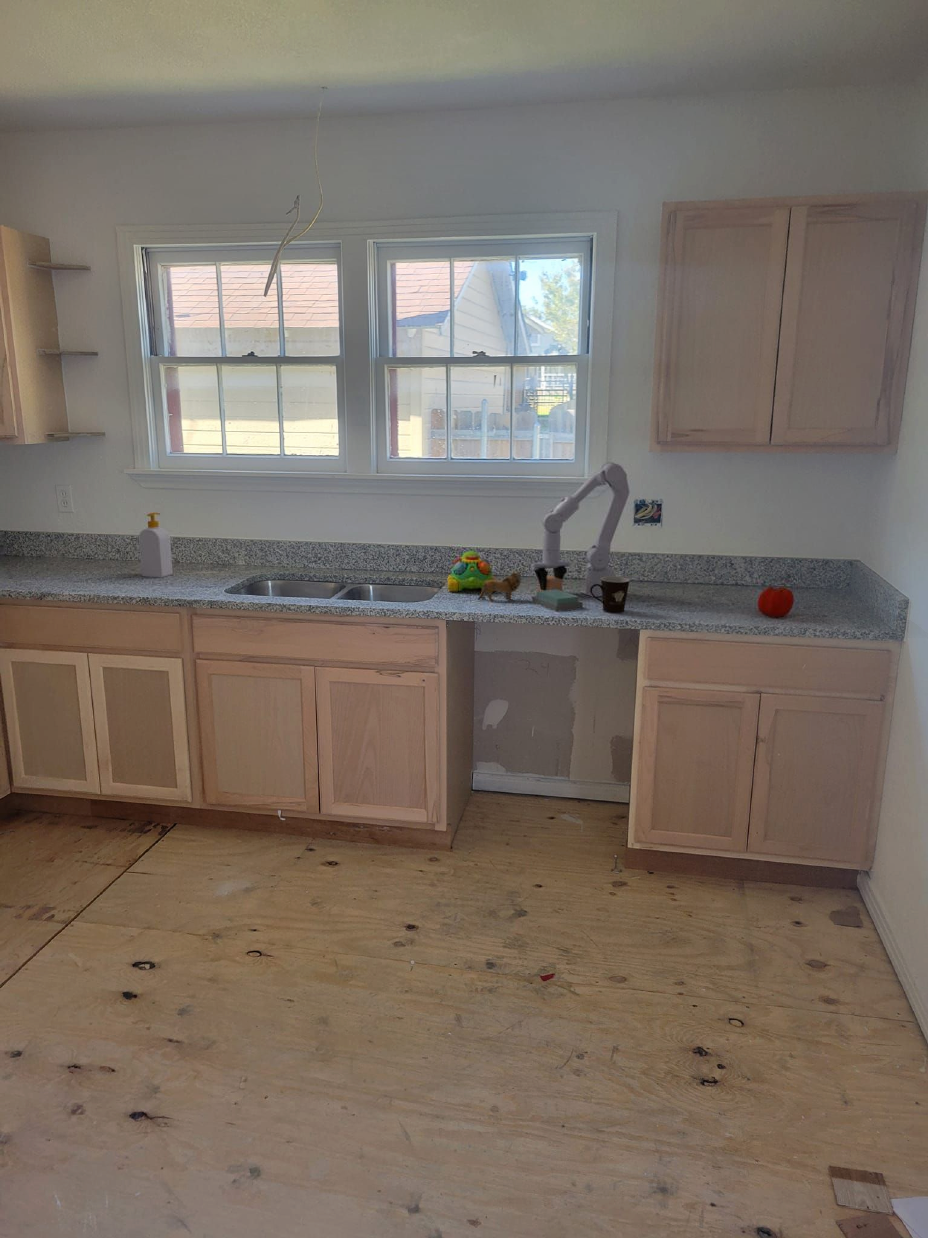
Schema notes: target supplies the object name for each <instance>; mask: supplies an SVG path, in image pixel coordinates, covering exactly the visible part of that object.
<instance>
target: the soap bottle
mask: <svg viewBox="0 0 928 1238" xmlns="http://www.w3.org/2000/svg"><path fill="white" fill-rule="evenodd" d="M155 515H158V516H160V515H161V513H159V512H150V513H148V514H146V516H147V517H150V520H149V521H147V528H146V529H142V530H141V531H140V532H139V534H138V546H139V547H138V548H139V559H140V572H141V576H142V577H149V578H159V579H160V578H161V579H162V578H165V577H168V576H172V575H173V574H174V573H173V560H172V549H171V547H172V546H171V537H170V534H169V532H168V531H167V530H166V529H165V528H163V527H160V526H159V521H158V520H155Z"/></svg>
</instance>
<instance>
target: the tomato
mask: <svg viewBox="0 0 928 1238" xmlns="http://www.w3.org/2000/svg"><path fill="white" fill-rule="evenodd" d="M794 600H795V599H794V594H793V591H792V590H790V589H788V588H786V587H784V586H780V587H777V588H774V587H773V586H768V587H766V589H764V590H763V591H762V592H761V593H760V595H759V596H758V600H757V609H758V611H759V612H760V613H761V614H763V615H764V616H769V617H771V616H773V617H772V618H774V617H776V618H780V617H781V616H783V617H784V616H787V615H788V614H789V613H790V612H791V610H792V608H793V606H794V602H795V601H794ZM781 618H782V617H781Z"/></svg>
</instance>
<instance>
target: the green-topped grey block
mask: <svg viewBox="0 0 928 1238" xmlns="http://www.w3.org/2000/svg"><path fill="white" fill-rule="evenodd" d="M531 599H532V600H531V601H532V602H531V603H534V604H536V605H539V606H540V607H544V606H545V607H544V608H546V607H547V608H546V609H549V610H551V609H552V610H551V611H554V610H555V612H560V611H559V610H562V611H568V610H569V611H571V610H579V609H583V605H584V604H583V602H582V601H580V600H579V596H578V595H576V594H575V595H574V594H572V593H570V592H566V591H564V590H562V591H561V590H558V589H555V590H546V591H538V590H537V591H536V595H534V596H531ZM570 609H571V610H570Z"/></svg>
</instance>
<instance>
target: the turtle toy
mask: <svg viewBox="0 0 928 1238" xmlns="http://www.w3.org/2000/svg"><path fill="white" fill-rule="evenodd" d="M453 564H454V566H453V567H452V569H451V574H448V577H447V580H446V583H447V584H446V585H447V589H448V591H449V592H450V591H451V592H453V593H458V591H459V592H460V591H462V590H463V589H468V590H473V589H475V590H476V589H481V590H482V587H483V585H484V583H485V582H486V581H488V580H494V581H496V579H495V577H494V575H493V570H492V568H491V565H490V562H489V560H488V559H486V558H484V557H481V556H480V555H479V554H478V553H477V552H476V551H466V552H465V553H464V554H463V555H462V556H461V557H457V558H456V559H455V560H454V562H453ZM484 589H485V588H484ZM494 592H496V591H495V590H493V592H492V593H494Z"/></svg>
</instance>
